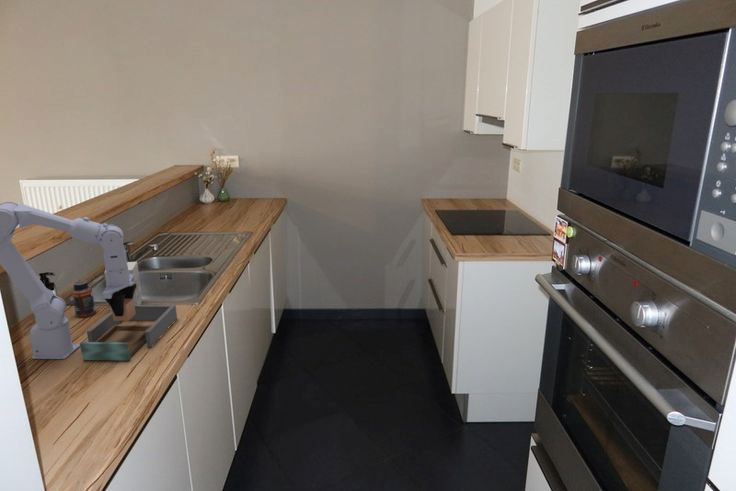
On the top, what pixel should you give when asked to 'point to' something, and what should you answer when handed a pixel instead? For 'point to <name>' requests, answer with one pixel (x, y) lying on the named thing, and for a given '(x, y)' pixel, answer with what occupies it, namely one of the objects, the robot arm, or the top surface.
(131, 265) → the supplement box
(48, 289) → the robot arm
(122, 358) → the tray
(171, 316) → the organiser housing
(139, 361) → the top surface
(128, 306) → the terracotta block
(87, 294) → the supplement bottle
